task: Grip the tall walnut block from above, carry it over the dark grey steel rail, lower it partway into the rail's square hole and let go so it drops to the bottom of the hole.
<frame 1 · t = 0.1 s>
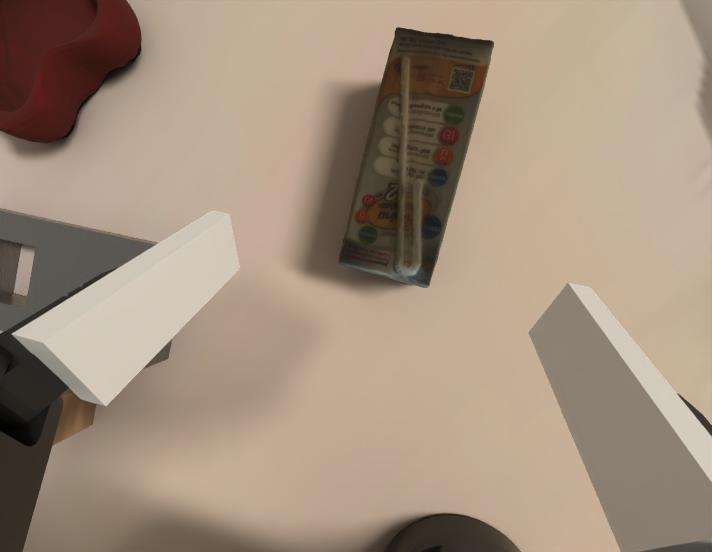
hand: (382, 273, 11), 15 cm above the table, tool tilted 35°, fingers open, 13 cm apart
beverage carton: (406, 184, 26), on the table
steel rail: (80, 280, 29), on the table
walnut block: (76, 397, 30), on the table
dark red curved piece: (74, 60, 29), on the table
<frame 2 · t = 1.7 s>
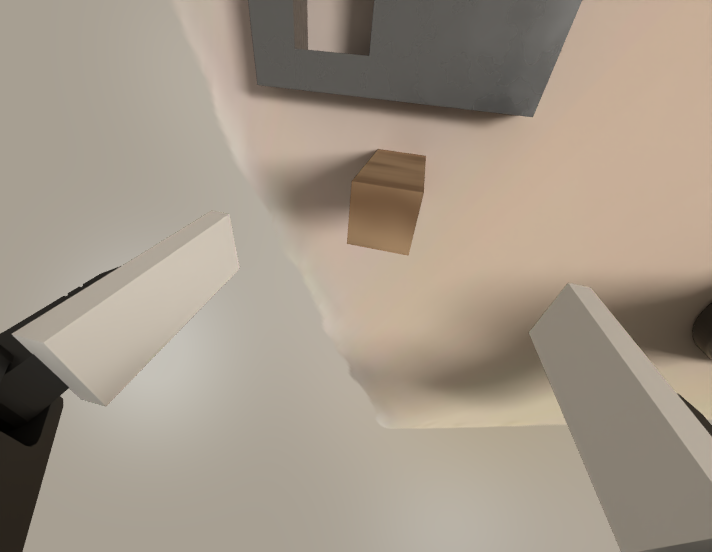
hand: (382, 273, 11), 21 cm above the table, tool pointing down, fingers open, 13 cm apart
steel rail: (402, 10, 21), on the table
walnut block: (397, 176, 29), on the table
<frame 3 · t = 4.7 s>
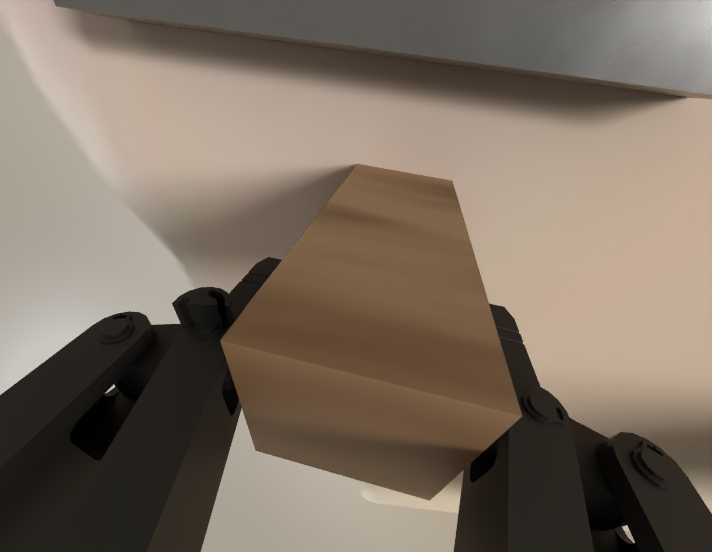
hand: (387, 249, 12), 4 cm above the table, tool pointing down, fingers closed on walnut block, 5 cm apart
walnut block: (394, 216, 15), on the table, touching gripper
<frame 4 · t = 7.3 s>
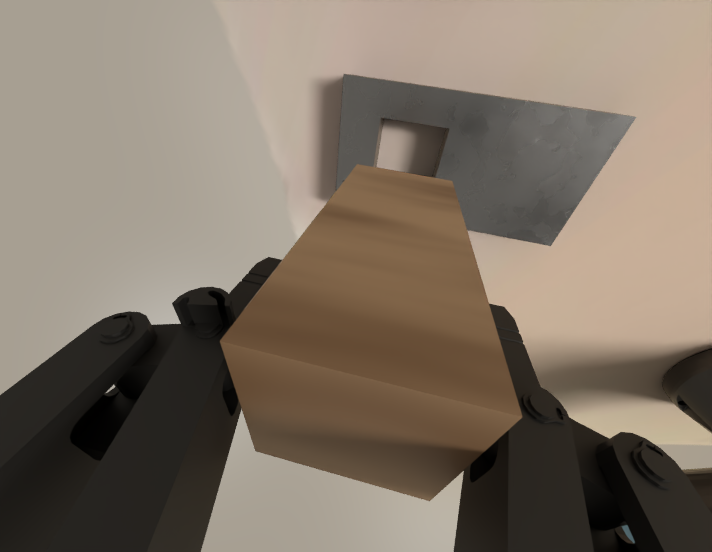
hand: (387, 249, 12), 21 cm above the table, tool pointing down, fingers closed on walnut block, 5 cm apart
steel rail: (454, 161, 28), on the table
walnut block: (394, 216, 15), point 17 cm above the table, touching gripper
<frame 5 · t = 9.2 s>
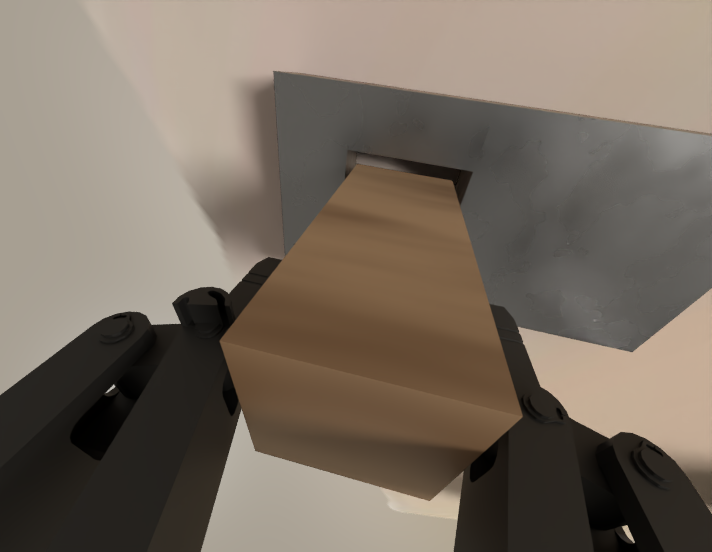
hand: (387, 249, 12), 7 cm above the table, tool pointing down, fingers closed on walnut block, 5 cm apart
steel rail: (475, 214, 17), on the table
walnut block: (394, 216, 15), point 3 cm above the table, touching gripper
when the fingers open (5 cm above the table, at t = 10.4 s): walnut block drops 1 cm, resting in steel rail.
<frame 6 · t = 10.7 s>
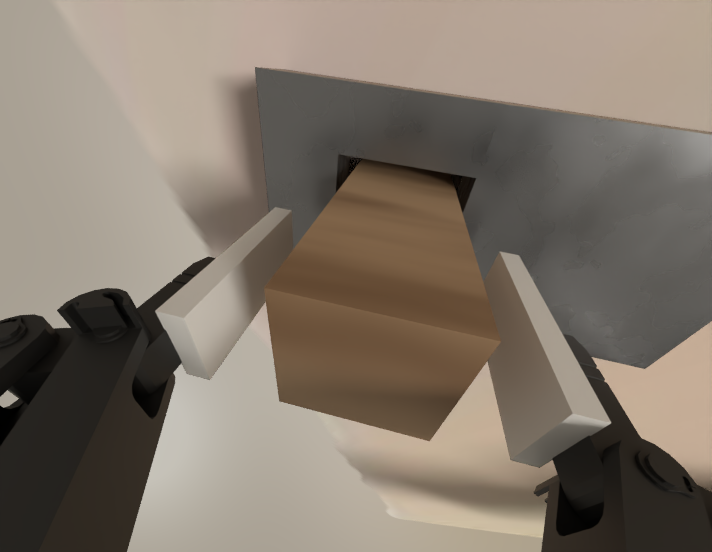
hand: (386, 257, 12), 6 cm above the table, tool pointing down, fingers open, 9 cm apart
steel rail: (477, 222, 16), on the table
walnut block: (396, 206, 16), resting in steel rail
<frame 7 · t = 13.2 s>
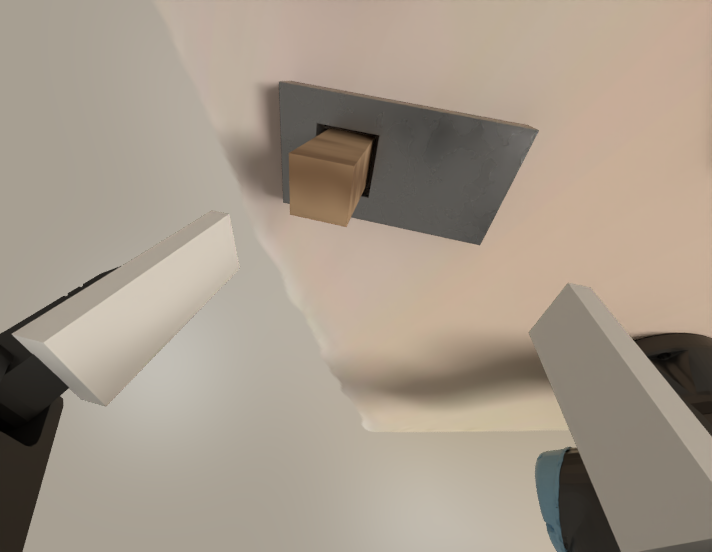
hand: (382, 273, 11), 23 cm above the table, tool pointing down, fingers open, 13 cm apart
steel rail: (392, 164, 30), on the table
walnut block: (350, 156, 30), resting in steel rail
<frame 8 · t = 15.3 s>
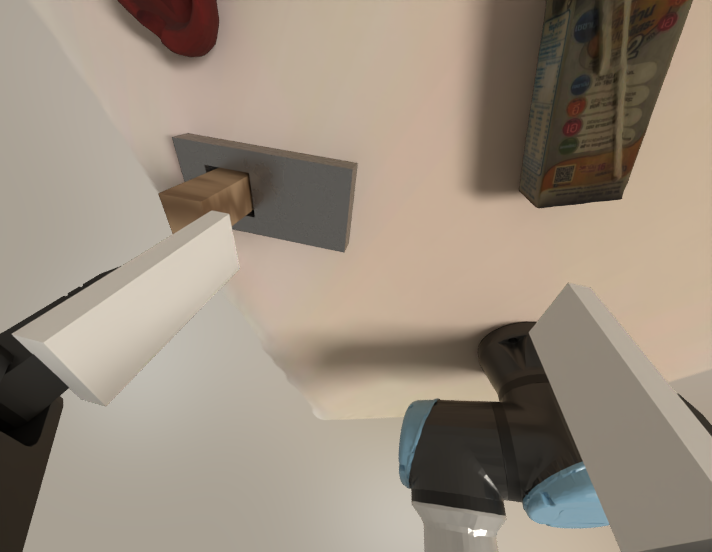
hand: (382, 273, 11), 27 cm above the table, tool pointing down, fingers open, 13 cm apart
beverage carton: (572, 93, 26), on the table
steel rail: (273, 191, 39), on the table
walnut block: (242, 185, 39), resting in steel rail
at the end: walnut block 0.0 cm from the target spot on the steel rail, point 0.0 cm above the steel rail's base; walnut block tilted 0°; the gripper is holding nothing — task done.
